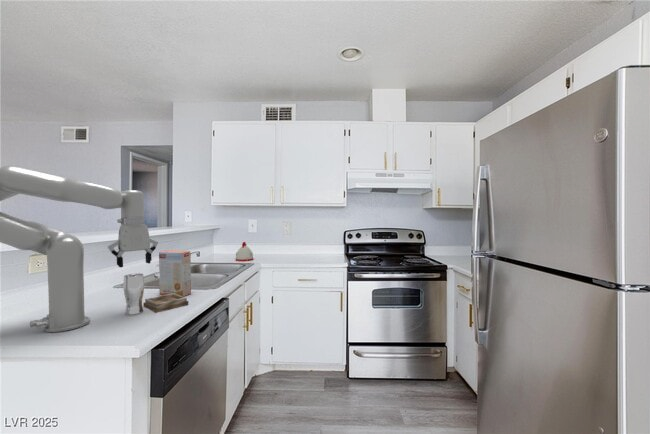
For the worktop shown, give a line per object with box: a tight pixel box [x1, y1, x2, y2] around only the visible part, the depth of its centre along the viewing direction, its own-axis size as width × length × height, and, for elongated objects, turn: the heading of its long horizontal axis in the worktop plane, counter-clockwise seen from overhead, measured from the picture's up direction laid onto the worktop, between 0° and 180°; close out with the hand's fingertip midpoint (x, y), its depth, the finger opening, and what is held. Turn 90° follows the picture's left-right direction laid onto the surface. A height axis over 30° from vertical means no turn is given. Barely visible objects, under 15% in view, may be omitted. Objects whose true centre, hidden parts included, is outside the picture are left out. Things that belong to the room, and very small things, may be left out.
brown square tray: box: [143, 293, 189, 314], centre depth 129 cm, size 13×13×3 cm
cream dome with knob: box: [235, 241, 254, 262], centre depth 249 cm, size 14×14×15 cm
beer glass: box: [122, 272, 145, 316], centre depth 120 cm, size 7×7×15 cm
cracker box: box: [158, 250, 192, 297], centre depth 146 cm, size 14×6×21 cm, turn 72°
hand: (134, 265), depth 120 cm, fingers open, 9 cm apart
